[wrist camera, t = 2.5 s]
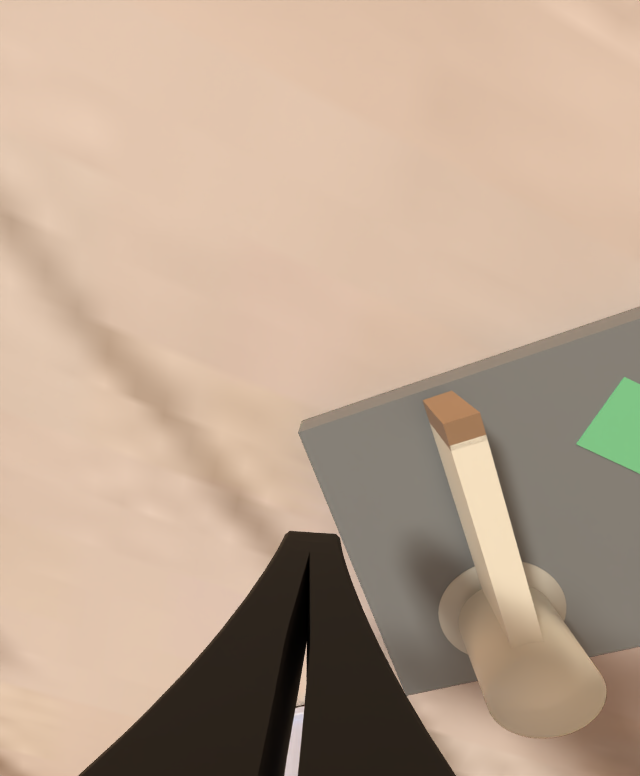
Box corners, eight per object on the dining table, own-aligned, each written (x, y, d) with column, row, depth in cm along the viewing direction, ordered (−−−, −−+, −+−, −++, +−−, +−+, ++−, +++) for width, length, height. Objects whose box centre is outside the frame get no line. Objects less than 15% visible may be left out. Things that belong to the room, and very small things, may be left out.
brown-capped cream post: (562, 645, 16) (615, 726, 13) (471, 665, 17) (501, 747, 14) (492, 377, 13) (538, 399, 10) (384, 412, 14) (397, 444, 11)
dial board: (787, 580, 17) (831, 608, 15) (401, 666, 20) (406, 697, 18) (763, 264, 14) (817, 260, 12) (301, 420, 16) (298, 433, 15)
